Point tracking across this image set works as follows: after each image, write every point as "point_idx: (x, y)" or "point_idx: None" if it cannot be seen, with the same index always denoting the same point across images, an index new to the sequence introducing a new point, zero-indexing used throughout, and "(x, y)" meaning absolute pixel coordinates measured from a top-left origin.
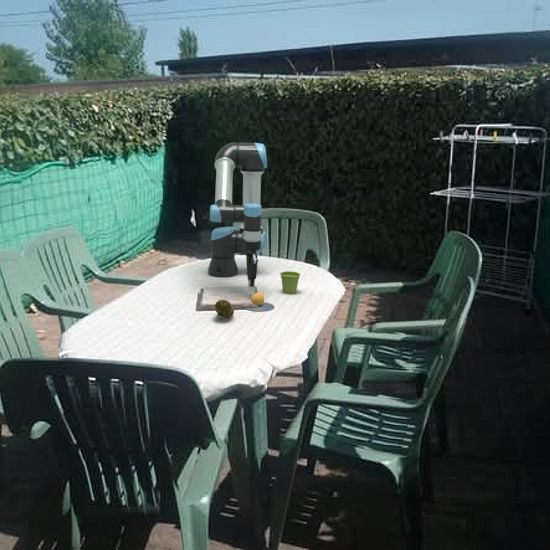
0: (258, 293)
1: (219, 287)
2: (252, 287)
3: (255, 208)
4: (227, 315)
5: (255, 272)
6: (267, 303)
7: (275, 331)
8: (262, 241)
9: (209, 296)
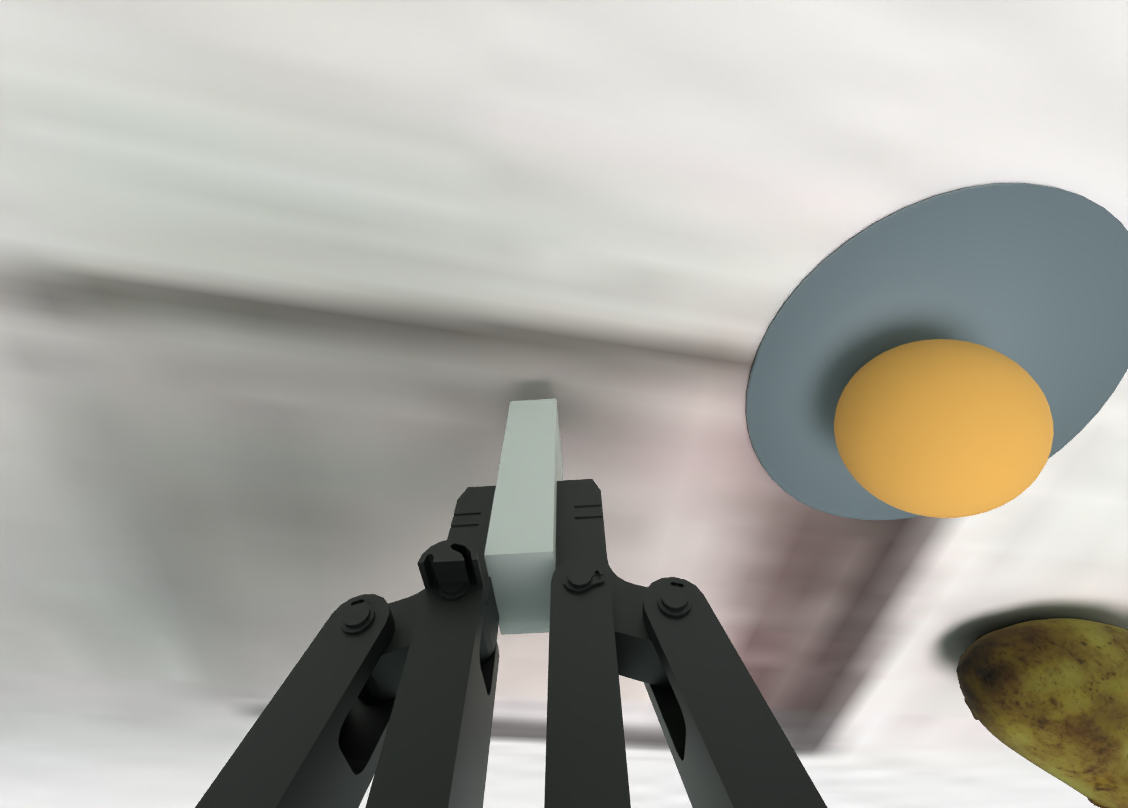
0: (1014, 478)
1: (187, 619)
2: (558, 477)
3: None
4: None
5: (787, 762)
6: (871, 258)
7: None
8: None
9: None
